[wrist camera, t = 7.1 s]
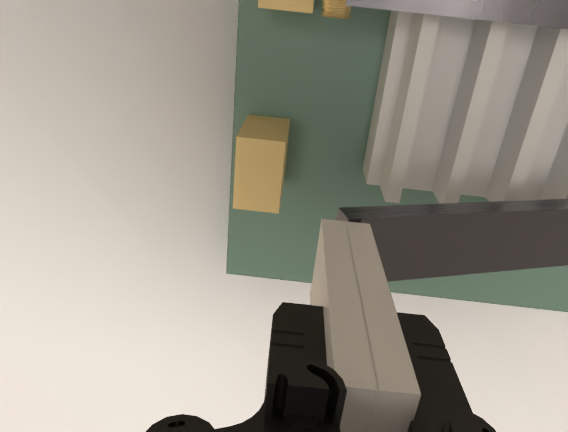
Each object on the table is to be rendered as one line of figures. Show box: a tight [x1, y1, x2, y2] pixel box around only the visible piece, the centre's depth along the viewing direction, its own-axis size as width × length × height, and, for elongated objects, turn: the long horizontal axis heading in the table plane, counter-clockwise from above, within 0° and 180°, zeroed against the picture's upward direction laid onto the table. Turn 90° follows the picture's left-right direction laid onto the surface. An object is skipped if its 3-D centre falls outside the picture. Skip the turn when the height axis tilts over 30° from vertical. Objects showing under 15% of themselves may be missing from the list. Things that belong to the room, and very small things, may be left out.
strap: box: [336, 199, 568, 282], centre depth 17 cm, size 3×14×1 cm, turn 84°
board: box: [226, 0, 568, 312], centre depth 20 cm, size 23×22×5 cm
